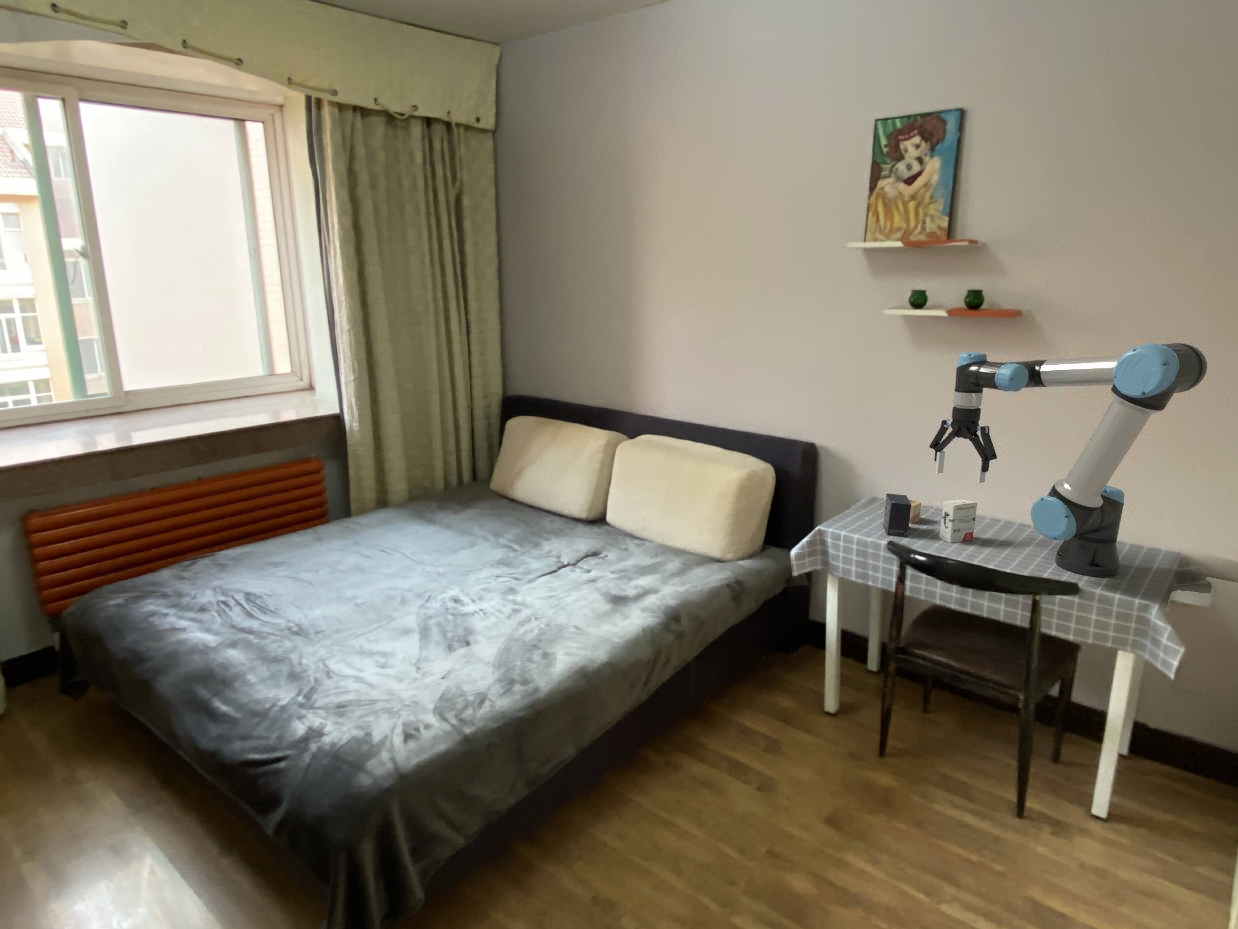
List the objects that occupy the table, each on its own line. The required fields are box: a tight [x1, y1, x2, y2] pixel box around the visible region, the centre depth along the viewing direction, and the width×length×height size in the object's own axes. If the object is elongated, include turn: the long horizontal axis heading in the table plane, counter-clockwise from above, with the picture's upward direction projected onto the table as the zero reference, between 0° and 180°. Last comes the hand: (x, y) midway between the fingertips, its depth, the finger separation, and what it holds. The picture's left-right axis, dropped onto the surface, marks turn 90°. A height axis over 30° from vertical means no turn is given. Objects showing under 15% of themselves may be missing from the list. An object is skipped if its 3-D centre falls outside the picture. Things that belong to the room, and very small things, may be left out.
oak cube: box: [909, 499, 922, 525], centre depth 246 cm, size 6×6×6 cm
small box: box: [882, 493, 911, 537], centre depth 235 cm, size 11×6×10 cm, turn 168°
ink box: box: [939, 498, 978, 543], centre depth 228 cm, size 9×5×12 cm, turn 108°
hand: (959, 477), depth 225 cm, fingers open, 13 cm apart
